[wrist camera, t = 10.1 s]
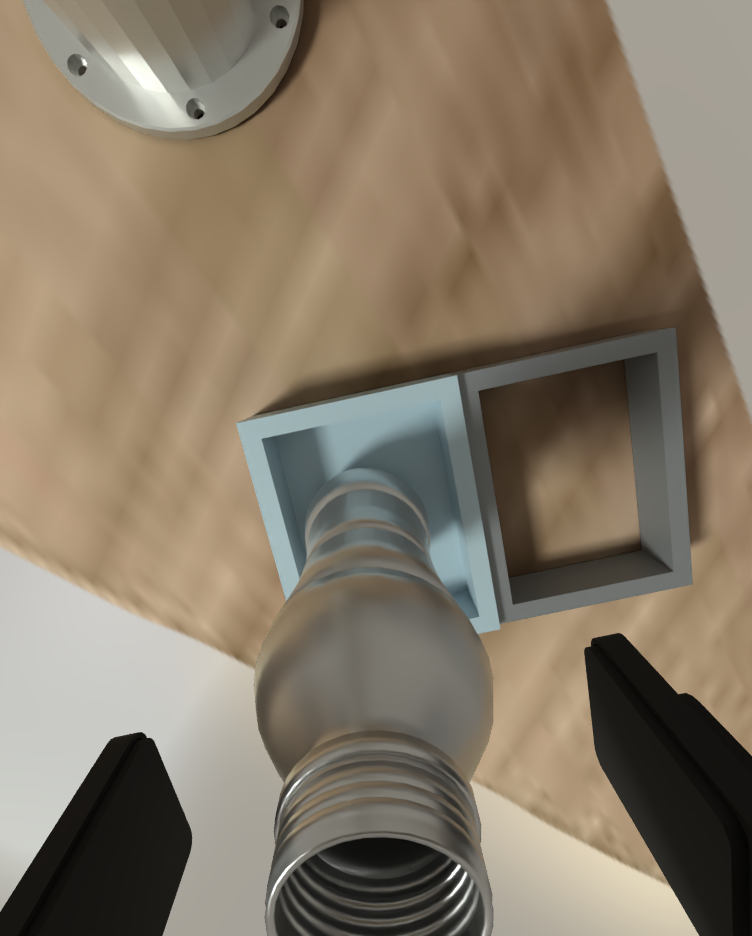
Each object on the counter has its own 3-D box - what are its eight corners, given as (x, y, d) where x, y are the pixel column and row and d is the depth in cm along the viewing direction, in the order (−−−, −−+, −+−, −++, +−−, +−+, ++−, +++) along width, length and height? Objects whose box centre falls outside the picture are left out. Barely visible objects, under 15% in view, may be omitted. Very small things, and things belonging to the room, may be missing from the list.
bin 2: (444, 374, 26) (455, 375, 23) (639, 331, 25) (675, 327, 22) (484, 597, 29) (497, 624, 26) (658, 561, 28) (692, 584, 26)
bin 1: (252, 415, 26) (236, 423, 22) (444, 374, 26) (456, 375, 22) (312, 633, 29) (305, 668, 26) (484, 597, 29) (500, 629, 25)
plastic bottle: (370, 435, 26) (394, 654, 6) (447, 521, 27) (668, 932, 7) (286, 508, 26) (70, 909, 7) (364, 589, 28) (367, 1122, 8)
